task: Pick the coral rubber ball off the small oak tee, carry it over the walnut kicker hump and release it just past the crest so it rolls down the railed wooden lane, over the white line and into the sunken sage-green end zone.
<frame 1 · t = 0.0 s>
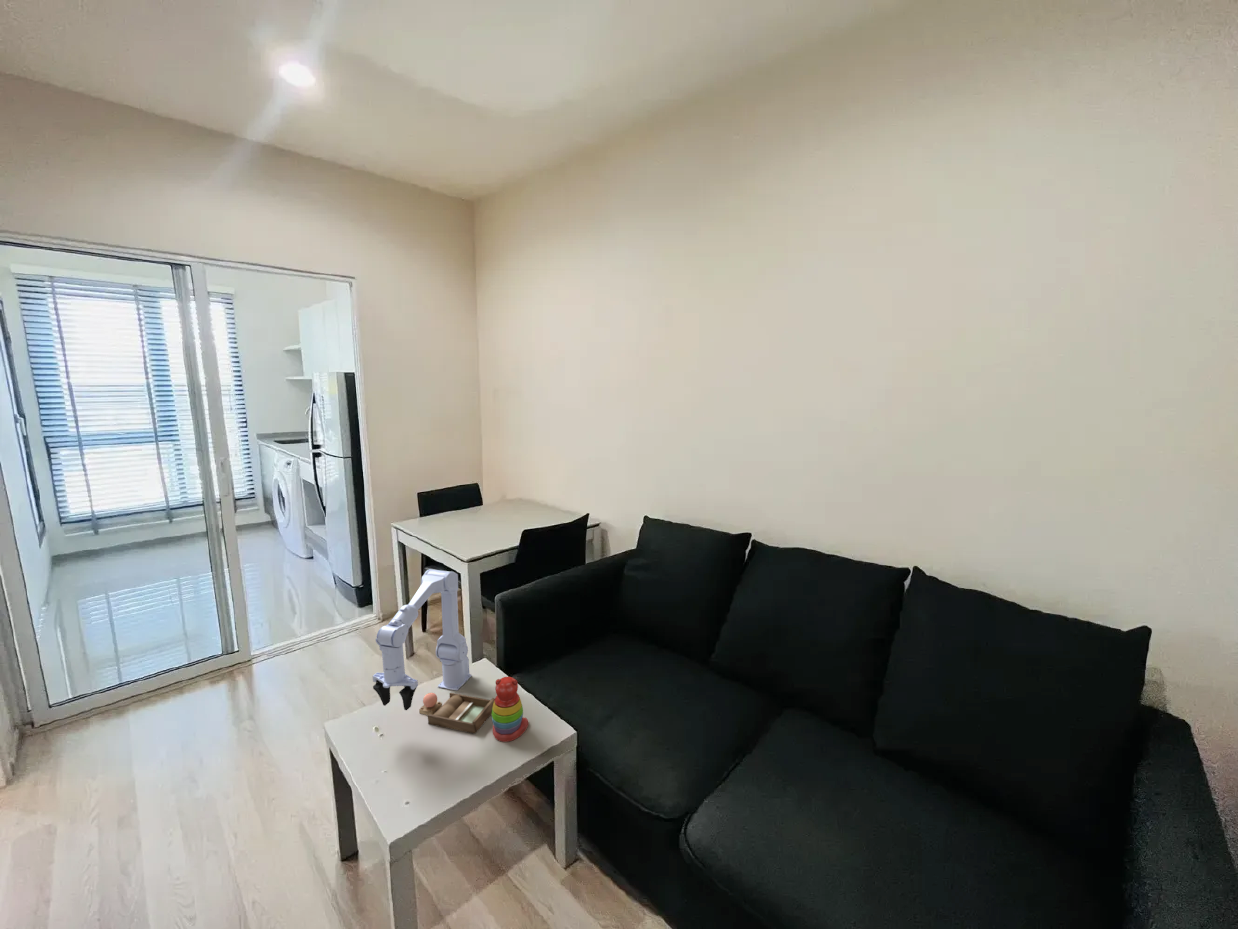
hand: (397, 705, 148), 10 cm above the table, fingers open, 7 cm apart
stacking bear: (508, 731, 152), on the table
runway: (461, 716, 159), on the table
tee: (430, 709, 162), on the table
ball: (430, 700, 161), point 4 cm above the table, touching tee
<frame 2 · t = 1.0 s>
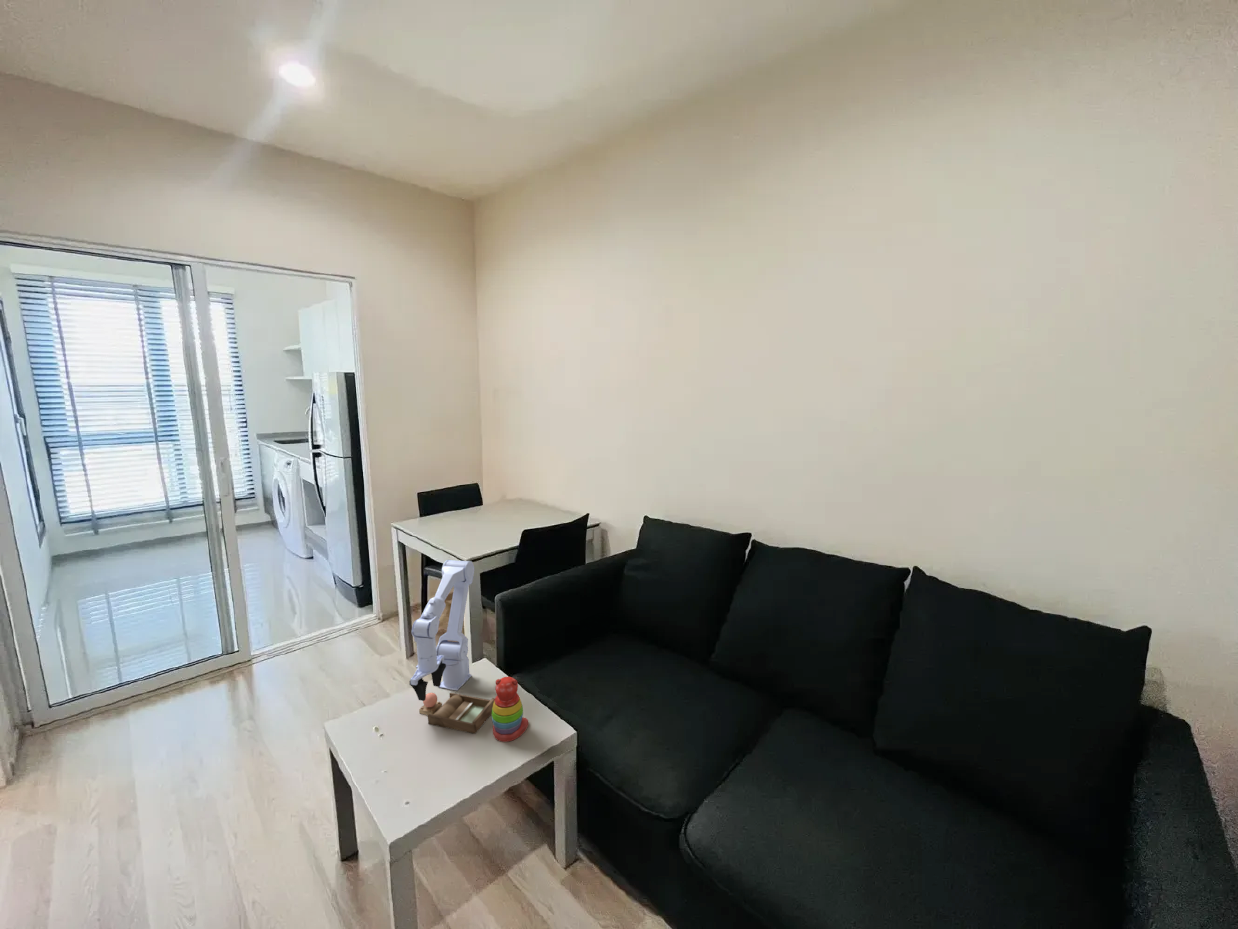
hand: (429, 692, 161), 6 cm above the table, fingers open, 7 cm apart
nothing on the table moved.
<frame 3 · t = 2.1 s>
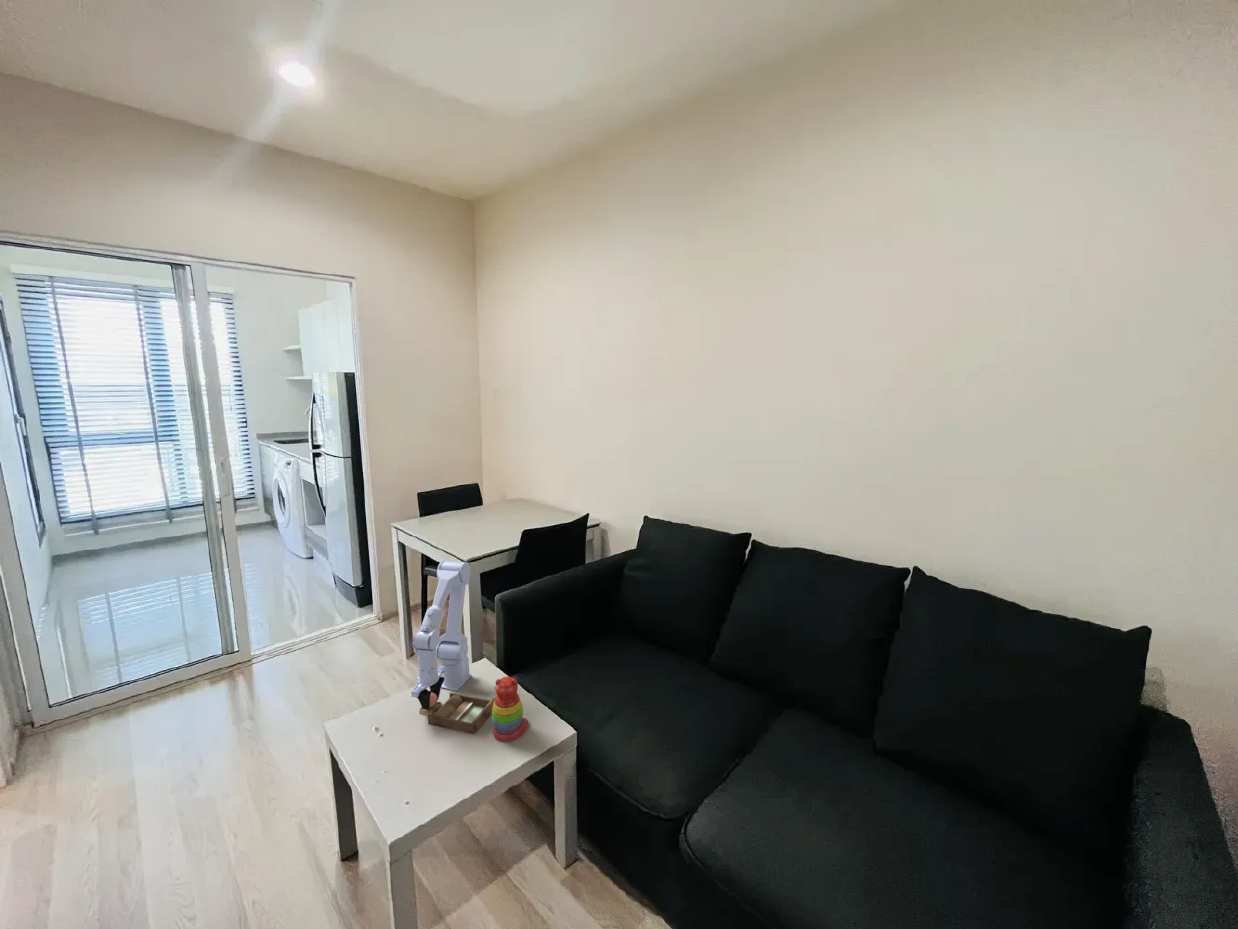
hand: (430, 704, 162), 2 cm above the table, fingers closed on ball, 4 cm apart
ball: (430, 700, 161), point 4 cm above the table, touching gripper, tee
everything else where it was.
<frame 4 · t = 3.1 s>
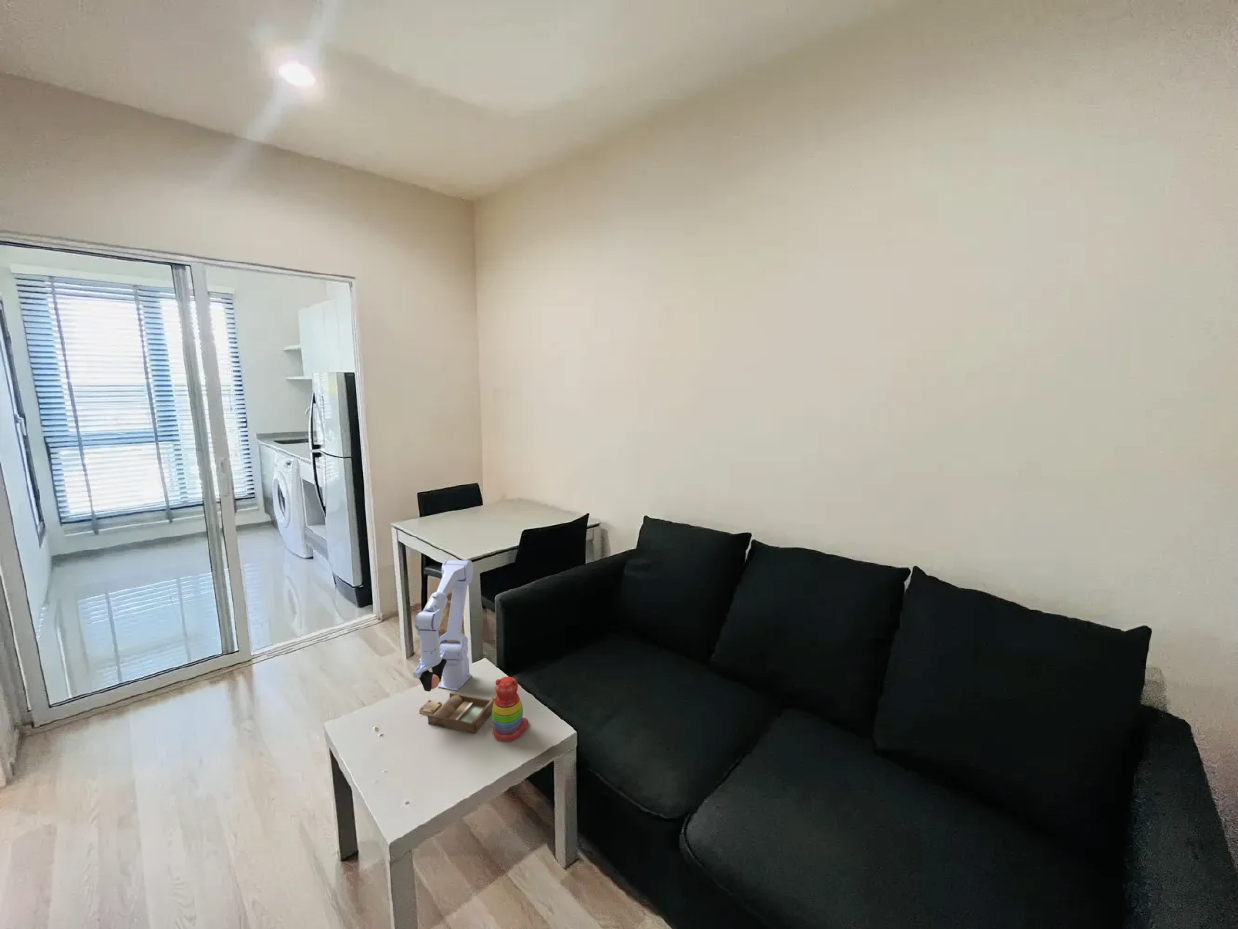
hand: (432, 686, 160), 9 cm above the table, fingers closed on ball, 4 cm apart
ball: (432, 681, 160), point 10 cm above the table, touching gripper
everything else where it was.
when the fingers open (5 cm above the table, at t = 4.2 s): ball drops 4 cm and tips over, resting on runway.
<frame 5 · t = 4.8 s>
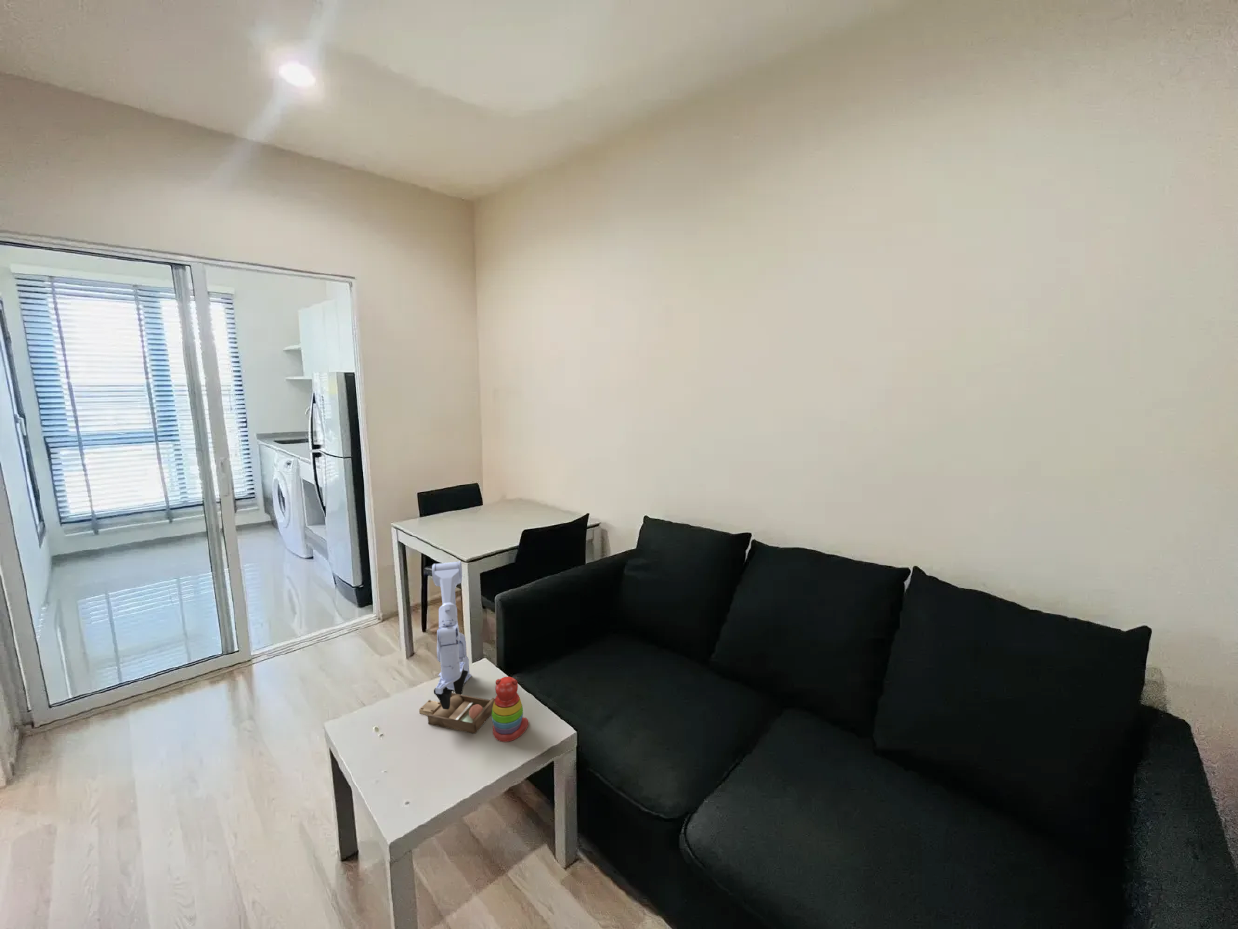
hand: (452, 700, 159), 5 cm above the table, fingers open, 7 cm apart
ball: (476, 712, 157), point 3 cm above the table, tilted 114°, touching runway
everything else where it was.
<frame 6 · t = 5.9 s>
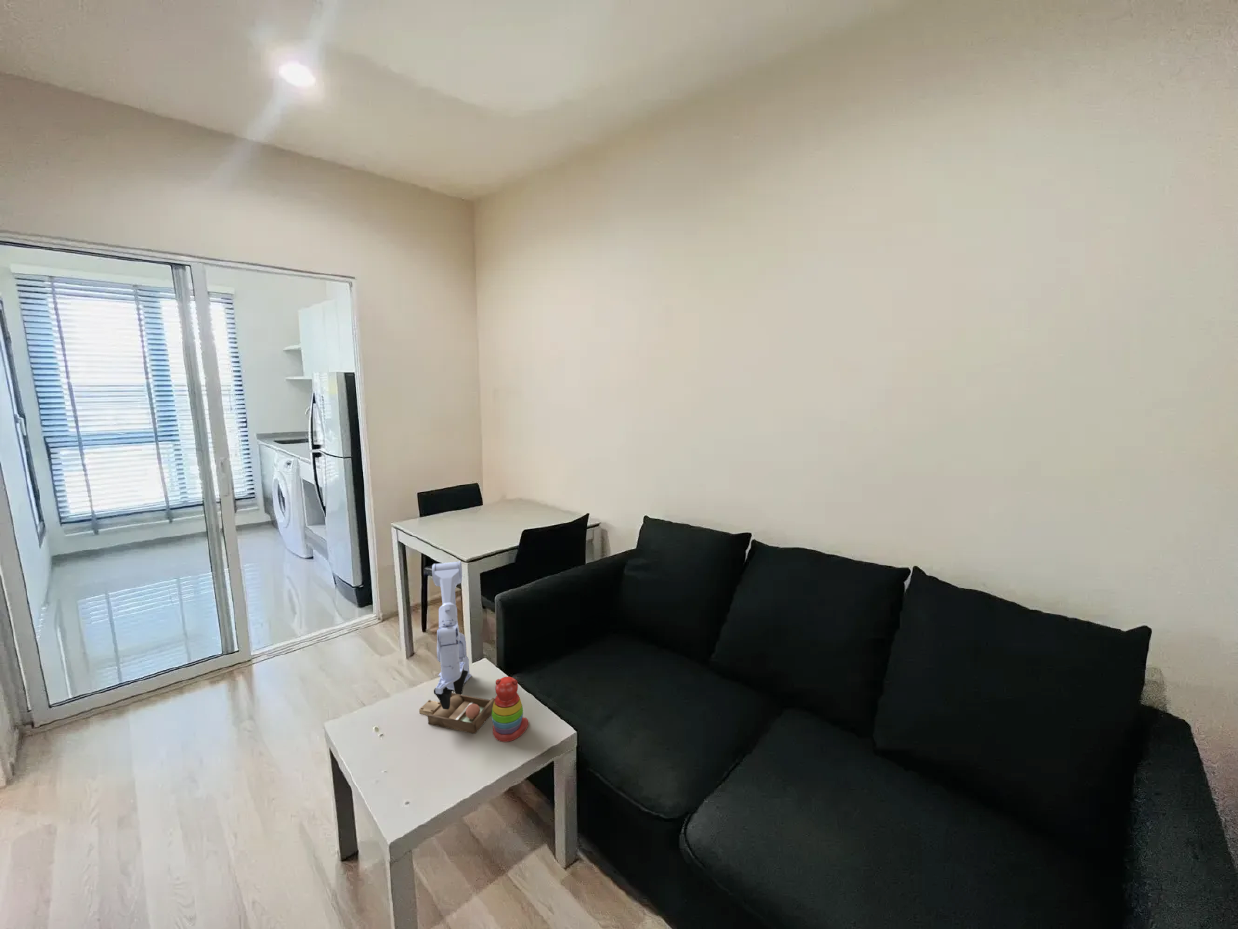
hand: (452, 700, 159), 5 cm above the table, fingers open, 7 cm apart
ball: (472, 711, 157), point 3 cm above the table, tilted 146°, touching runway
everything else where it was.
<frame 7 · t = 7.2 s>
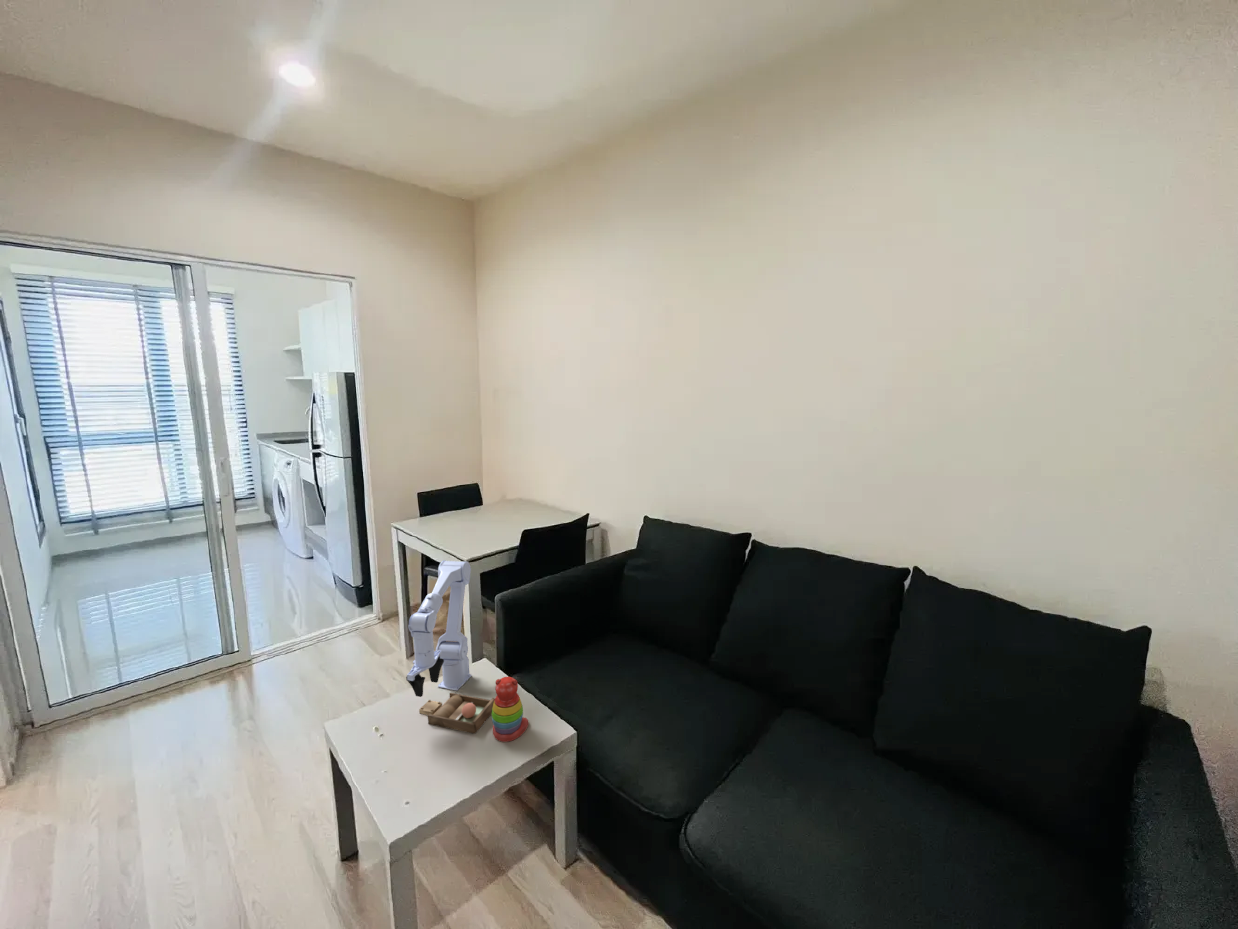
hand: (427, 688, 157), 10 cm above the table, fingers open, 7 cm apart
ball: (468, 710, 158), point 3 cm above the table, tilted 177°, touching runway
everything else where it was.
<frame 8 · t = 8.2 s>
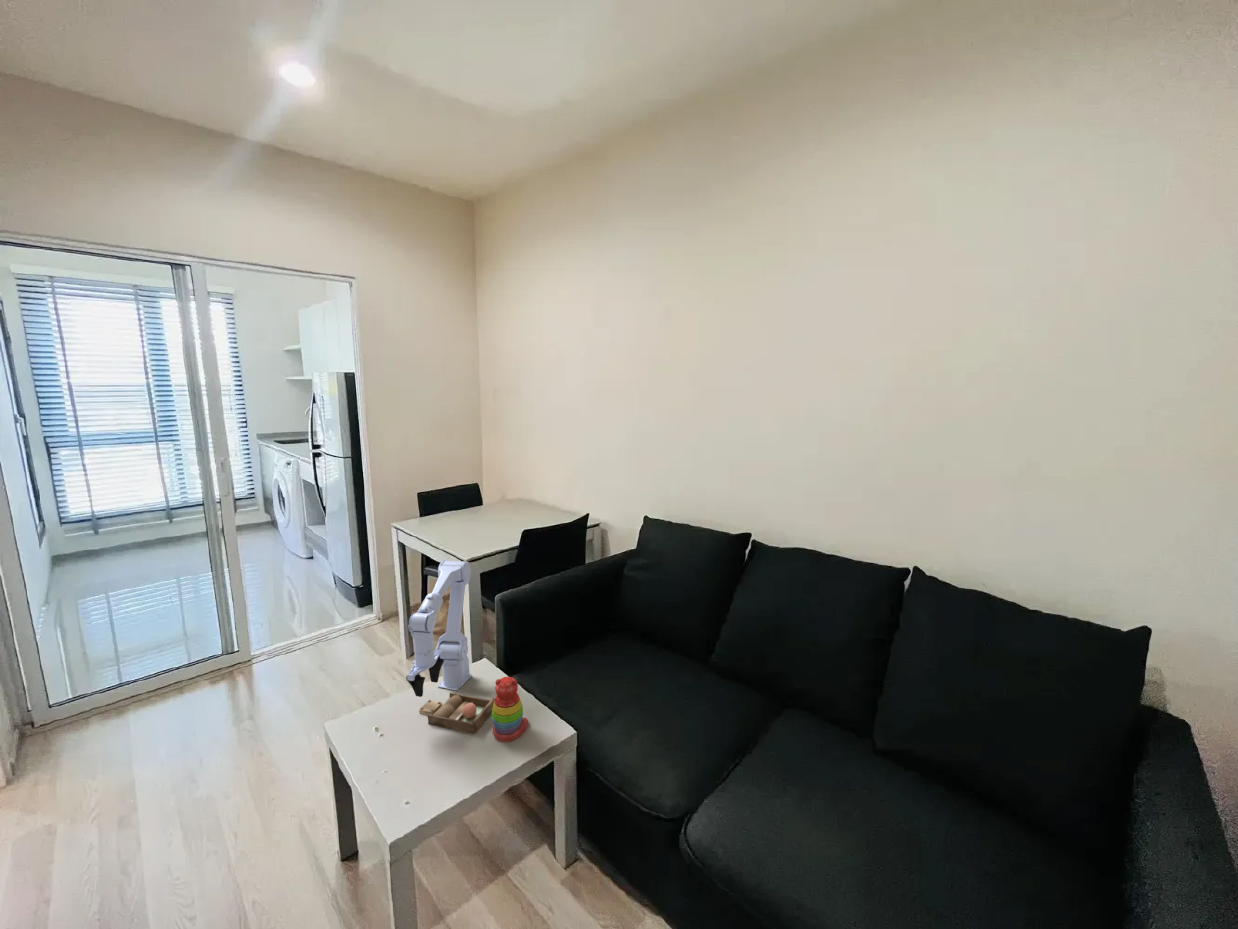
hand: (427, 688, 157), 10 cm above the table, fingers open, 7 cm apart
nothing on the table moved.
at the end: ball inside the target area (1.7 cm from its centre), point 2.6 cm above the table; the gripper is holding nothing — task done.
